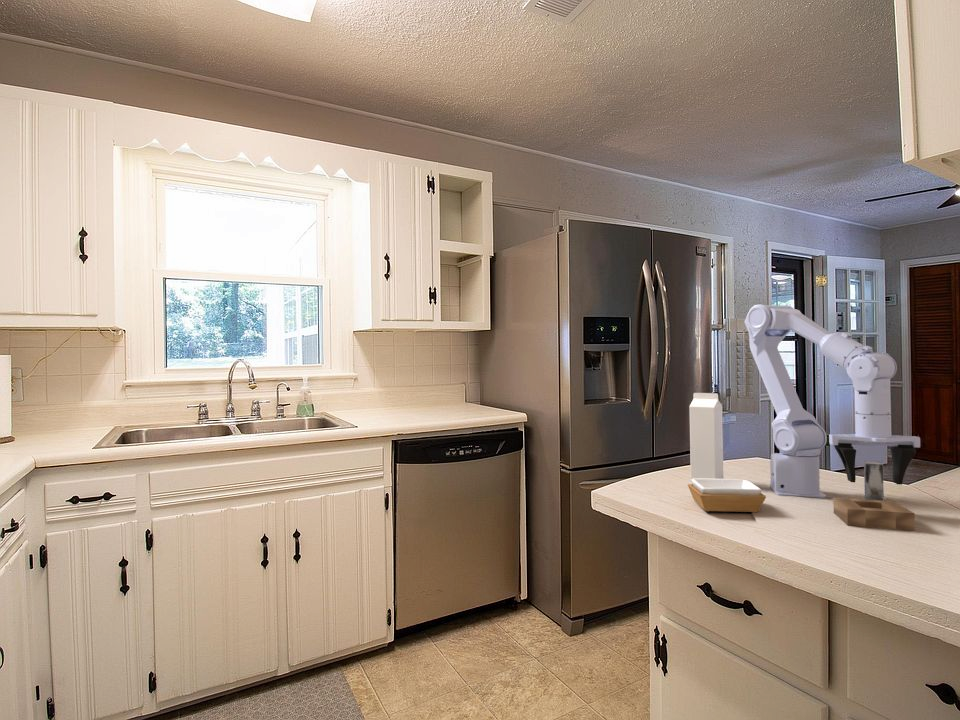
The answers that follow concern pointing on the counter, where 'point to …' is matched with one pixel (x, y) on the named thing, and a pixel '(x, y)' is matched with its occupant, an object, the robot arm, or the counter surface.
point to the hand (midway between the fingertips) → (874, 482)
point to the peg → (873, 481)
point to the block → (874, 513)
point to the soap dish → (726, 495)
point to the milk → (706, 436)
